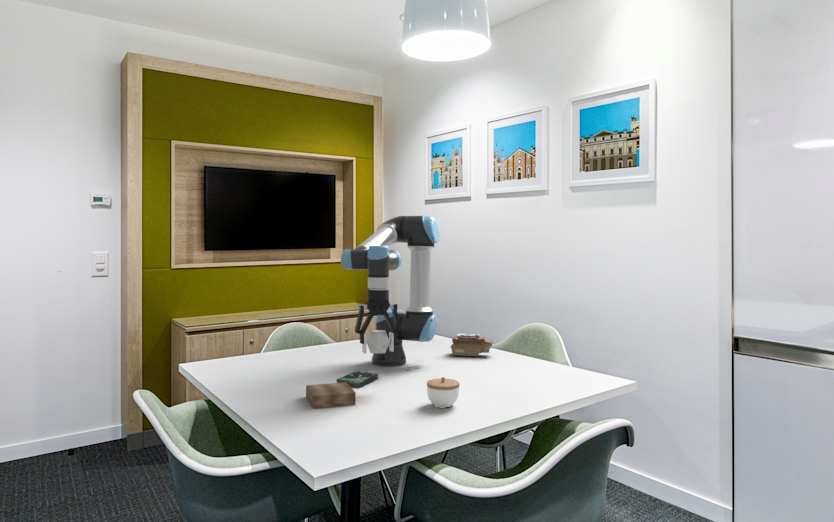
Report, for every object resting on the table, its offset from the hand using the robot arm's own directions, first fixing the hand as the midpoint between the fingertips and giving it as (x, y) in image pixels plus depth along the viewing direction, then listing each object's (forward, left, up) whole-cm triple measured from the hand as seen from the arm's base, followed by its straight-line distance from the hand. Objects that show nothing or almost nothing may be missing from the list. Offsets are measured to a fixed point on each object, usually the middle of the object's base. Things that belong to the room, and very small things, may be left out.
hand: (378, 351), depth 200 cm
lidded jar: (-16, +22, -15) cm, 31 cm away
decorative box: (-61, -48, -15) cm, 79 cm away
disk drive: (+3, -16, -15) cm, 22 cm away
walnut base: (+18, +5, -15) cm, 24 cm away
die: (0, 0, 0) cm, 0 cm away
